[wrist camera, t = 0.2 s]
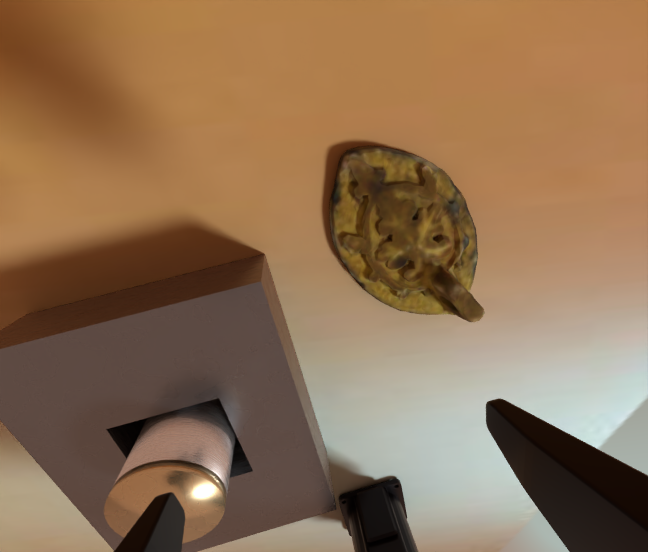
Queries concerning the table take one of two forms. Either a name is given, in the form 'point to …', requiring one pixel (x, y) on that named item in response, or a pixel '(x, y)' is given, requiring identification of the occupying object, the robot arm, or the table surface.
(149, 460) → the end cover
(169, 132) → the table surface
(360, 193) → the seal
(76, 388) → the housing
